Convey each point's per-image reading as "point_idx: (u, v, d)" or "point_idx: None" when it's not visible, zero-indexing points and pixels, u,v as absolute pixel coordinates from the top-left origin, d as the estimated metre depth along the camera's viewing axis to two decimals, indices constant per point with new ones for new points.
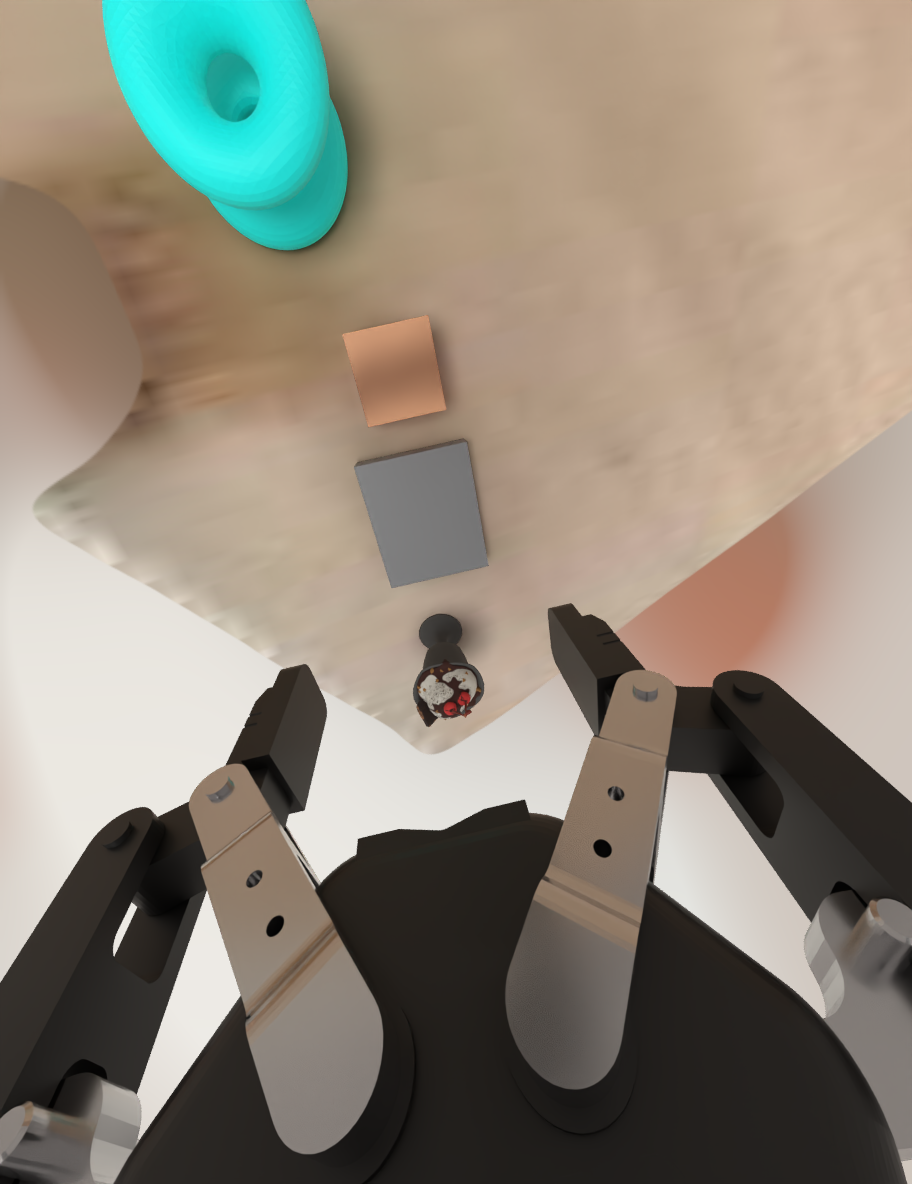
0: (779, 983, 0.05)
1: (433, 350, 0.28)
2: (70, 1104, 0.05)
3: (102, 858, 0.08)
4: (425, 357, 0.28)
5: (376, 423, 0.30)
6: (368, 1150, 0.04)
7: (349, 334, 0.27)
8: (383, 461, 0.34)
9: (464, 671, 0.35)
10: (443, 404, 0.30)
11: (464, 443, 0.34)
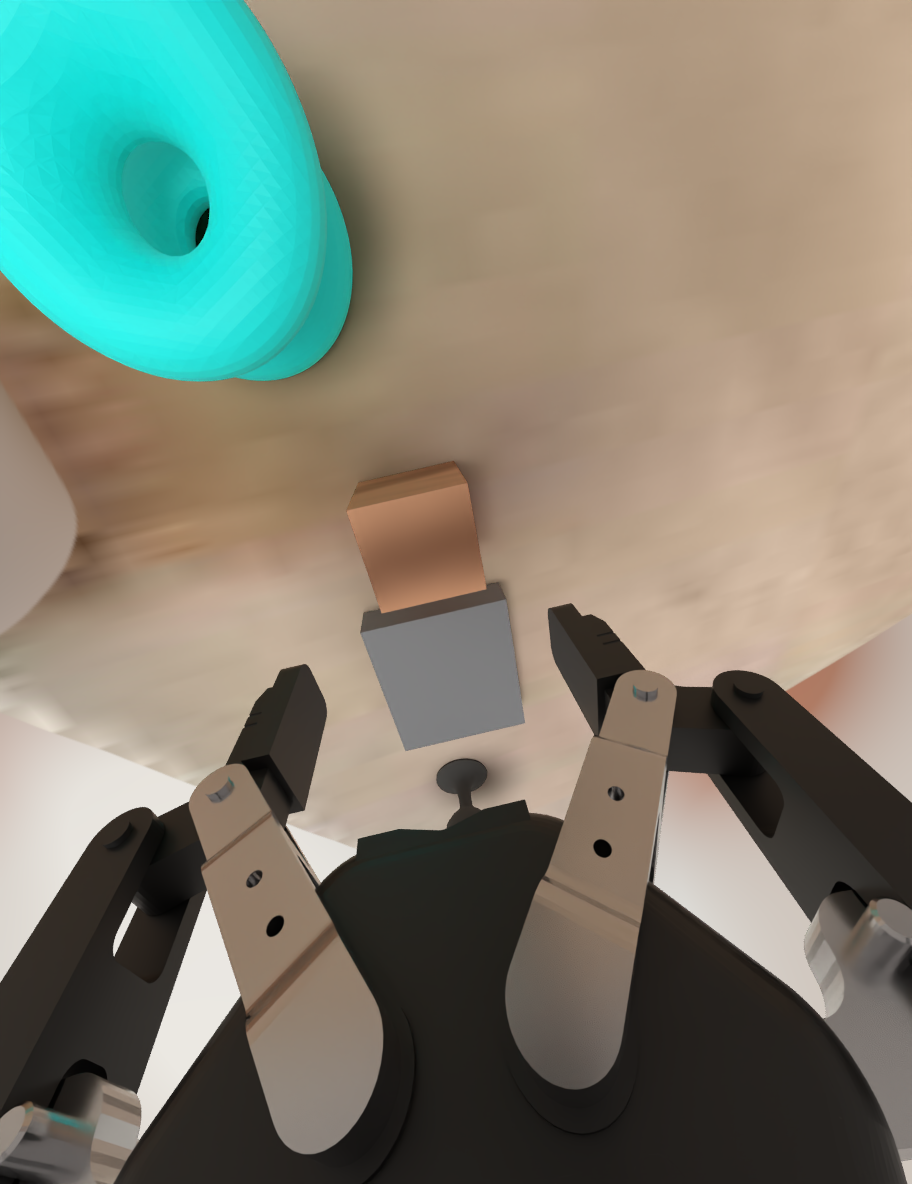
0: (779, 983, 0.05)
1: (472, 524, 0.20)
2: (70, 1104, 0.05)
3: (102, 858, 0.08)
4: (461, 532, 0.20)
5: (392, 608, 0.22)
6: (368, 1150, 0.04)
7: (356, 510, 0.19)
8: (398, 624, 0.26)
9: None
10: (483, 583, 0.22)
11: (503, 601, 0.26)
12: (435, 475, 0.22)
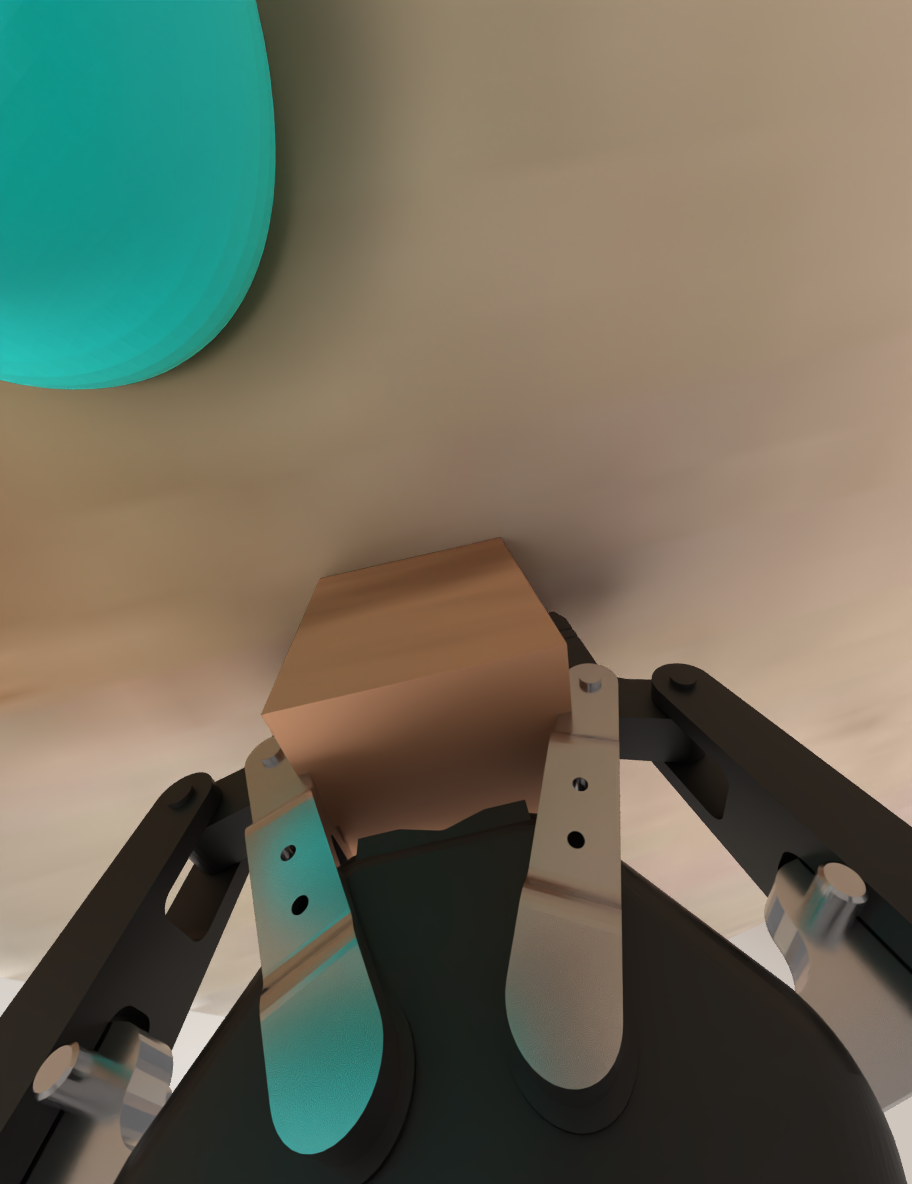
0: (779, 982, 0.05)
1: None
2: (113, 1049, 0.06)
3: (166, 816, 0.08)
4: (540, 738, 0.09)
5: None
6: (356, 1161, 0.04)
7: (287, 712, 0.08)
8: None
9: None
10: None
11: None
12: (473, 586, 0.10)
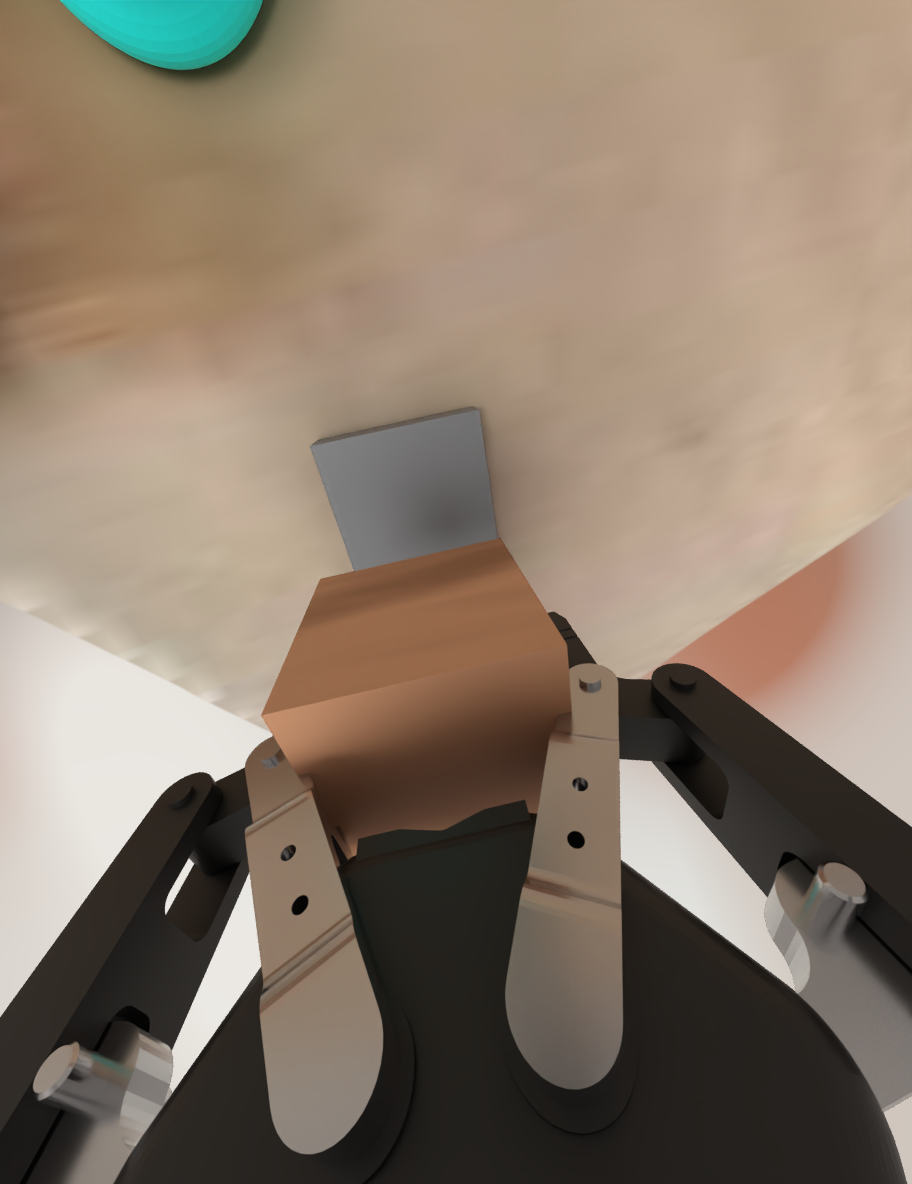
0: (779, 983, 0.05)
1: None
2: (112, 1049, 0.06)
3: (166, 816, 0.08)
4: (540, 739, 0.09)
5: None
6: (357, 1161, 0.04)
7: (287, 713, 0.08)
8: (354, 438, 0.23)
9: None
10: None
11: (475, 412, 0.23)
12: (473, 586, 0.10)
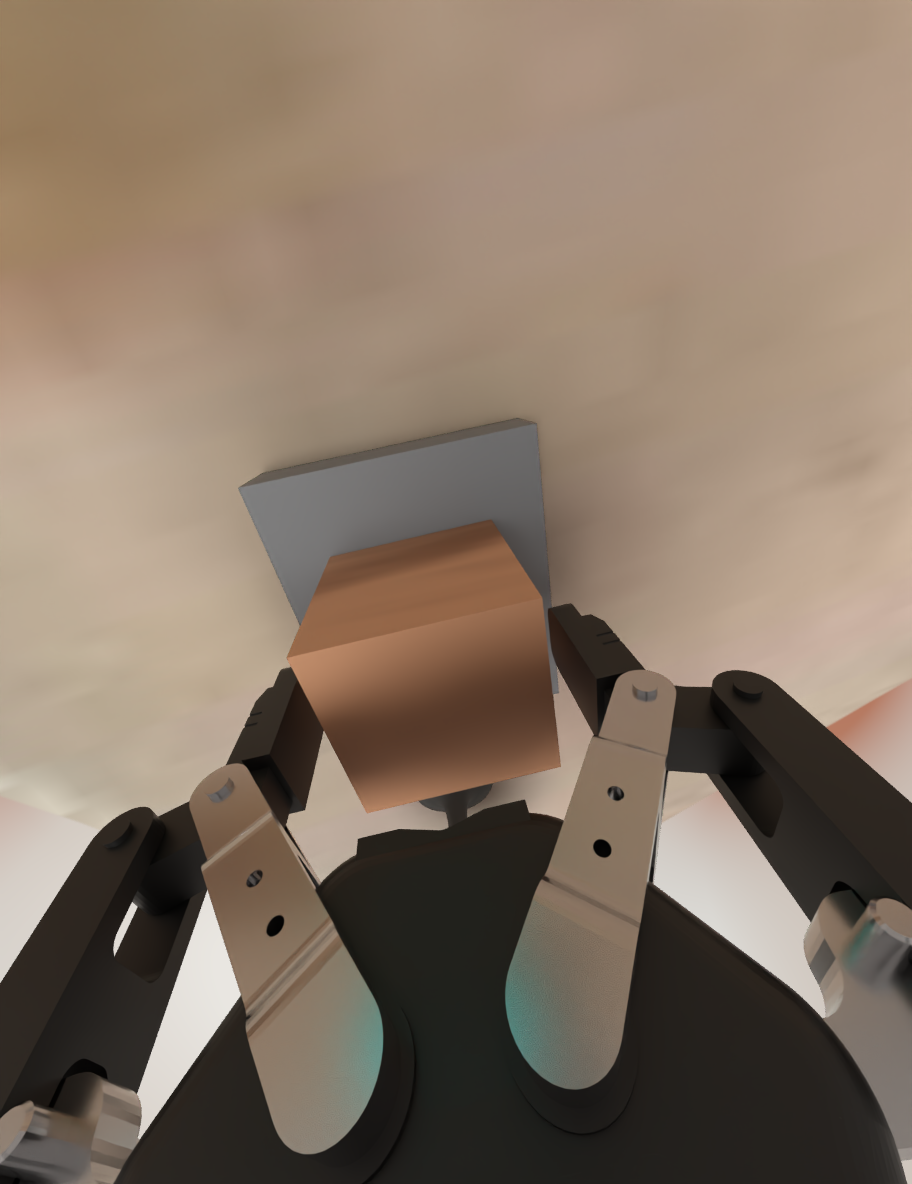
0: (779, 981, 0.05)
1: (546, 668, 0.10)
2: (71, 1103, 0.05)
3: (103, 858, 0.08)
4: (522, 684, 0.10)
5: (386, 805, 0.12)
6: (368, 1150, 0.04)
7: (308, 656, 0.09)
8: (316, 473, 0.13)
9: None
10: (555, 759, 0.12)
11: (530, 428, 0.13)
12: (465, 558, 0.12)
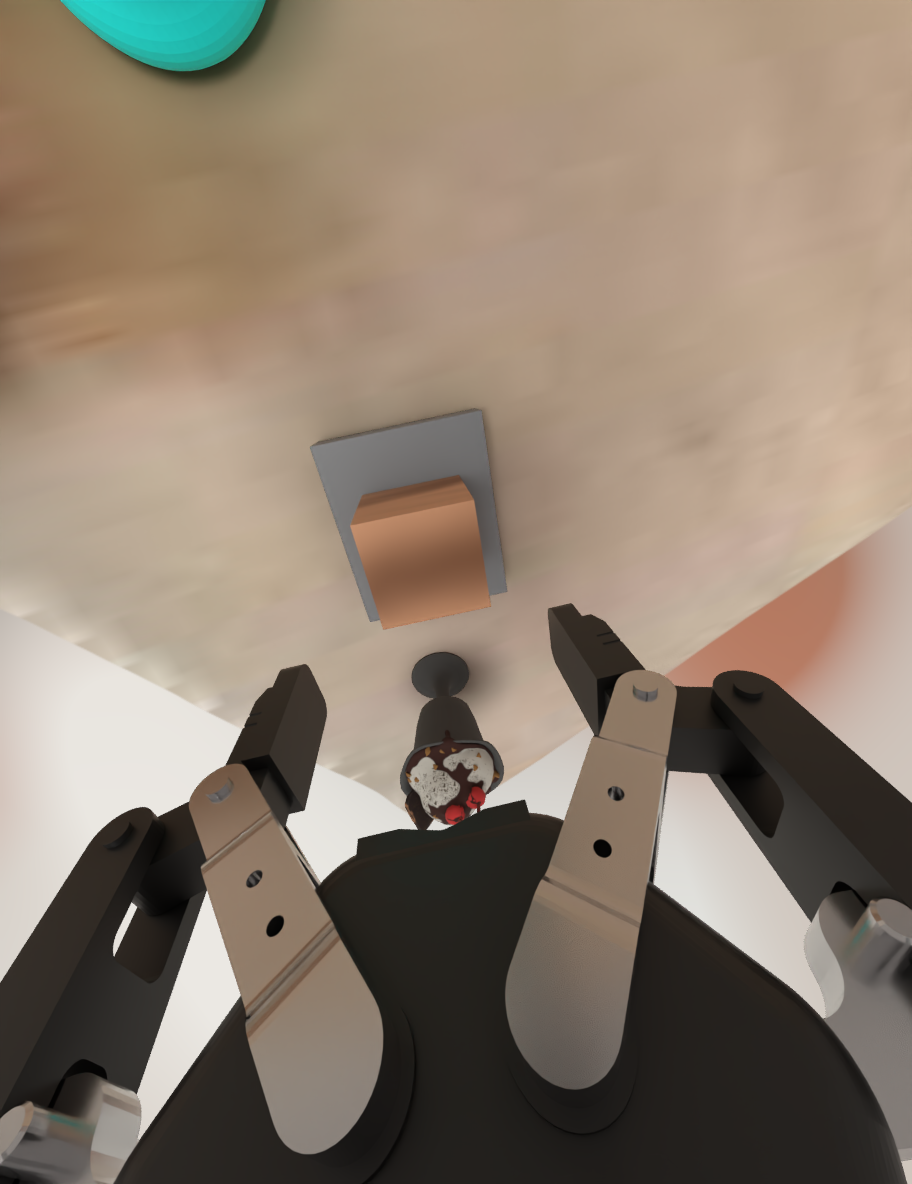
0: (779, 983, 0.05)
1: (478, 540, 0.20)
2: (70, 1104, 0.05)
3: (102, 858, 0.08)
4: (466, 549, 0.20)
5: (394, 625, 0.21)
6: (368, 1150, 0.04)
7: (360, 525, 0.19)
8: (354, 438, 0.23)
9: (475, 752, 0.24)
10: (487, 601, 0.21)
11: (477, 412, 0.23)
12: (440, 490, 0.21)
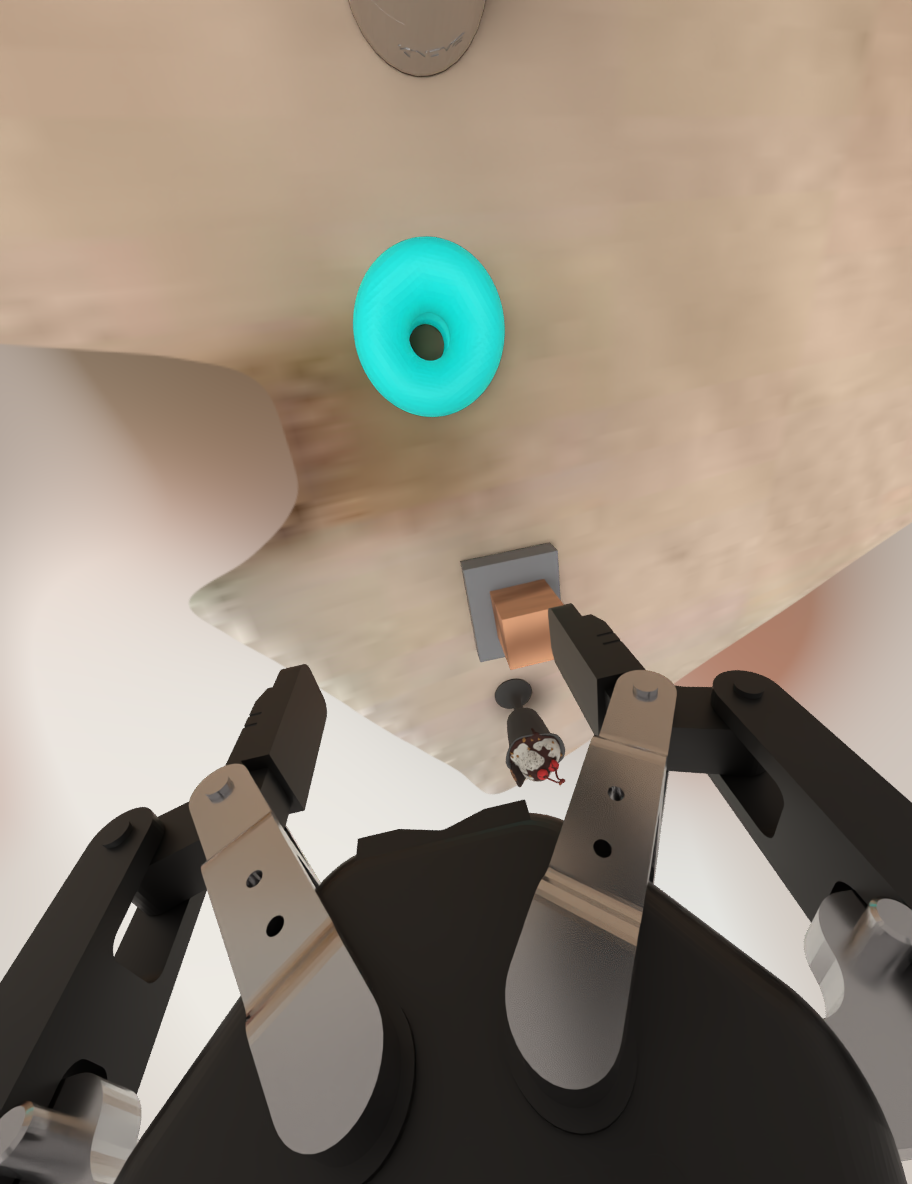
0: (779, 983, 0.05)
1: None
2: (70, 1104, 0.05)
3: (102, 858, 0.08)
4: None
5: (516, 667, 0.40)
6: (368, 1150, 0.04)
7: (506, 619, 0.37)
8: (487, 565, 0.41)
9: (550, 740, 0.42)
10: None
11: (555, 552, 0.41)
12: (539, 593, 0.40)
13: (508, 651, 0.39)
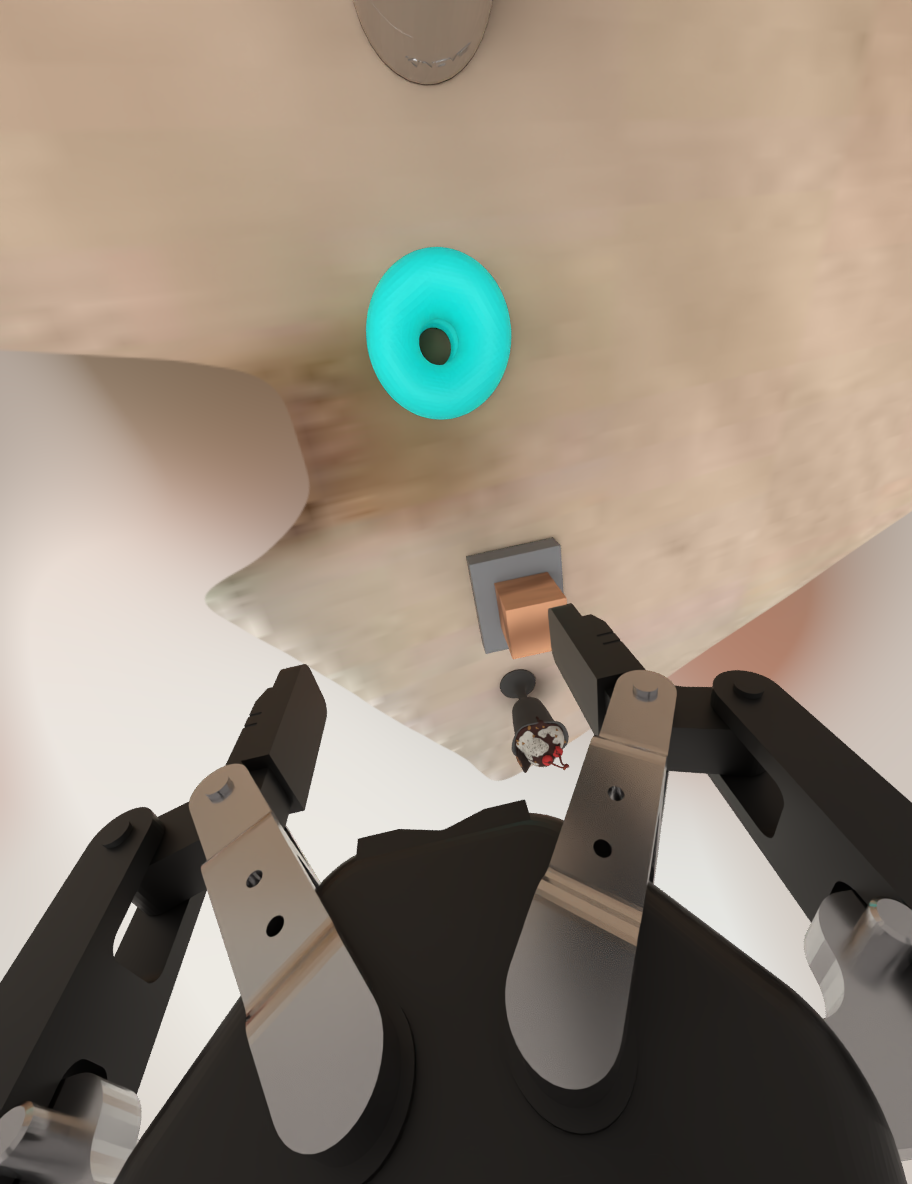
0: (779, 982, 0.05)
1: None
2: (70, 1103, 0.05)
3: (102, 858, 0.08)
4: None
5: (518, 656, 0.41)
6: (368, 1150, 0.04)
7: (510, 610, 0.38)
8: (492, 560, 0.42)
9: (555, 728, 0.44)
10: None
11: (558, 546, 0.42)
12: (543, 586, 0.41)
13: (511, 641, 0.40)
